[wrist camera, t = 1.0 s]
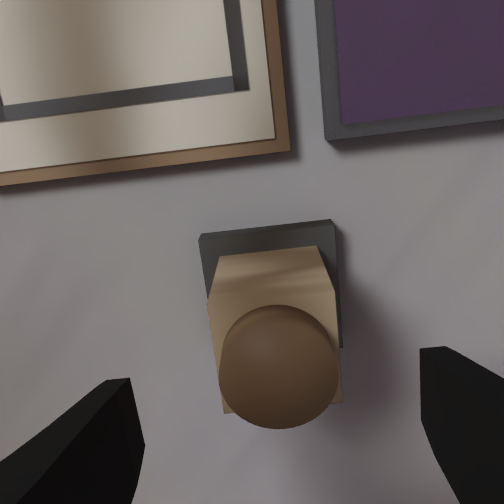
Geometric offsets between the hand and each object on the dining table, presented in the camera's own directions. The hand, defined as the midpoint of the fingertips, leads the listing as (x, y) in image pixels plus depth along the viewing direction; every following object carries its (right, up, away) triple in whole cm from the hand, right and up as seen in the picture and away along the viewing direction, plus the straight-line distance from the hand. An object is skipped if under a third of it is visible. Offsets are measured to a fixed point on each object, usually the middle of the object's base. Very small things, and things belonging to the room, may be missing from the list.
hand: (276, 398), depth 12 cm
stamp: (0, +2, +7) cm, 8 cm away
